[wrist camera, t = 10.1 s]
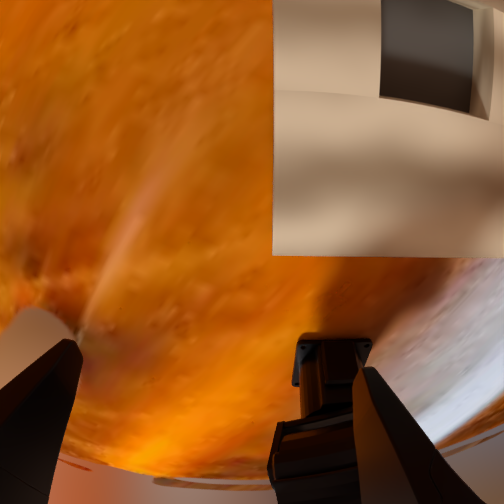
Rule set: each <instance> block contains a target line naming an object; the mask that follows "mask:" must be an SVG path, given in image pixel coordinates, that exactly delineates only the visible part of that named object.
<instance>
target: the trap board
mask: <svg viewBox="0 0 504 504" xmlns="http://www.w3.org/2000/svg"><path fill="white" fill-rule="evenodd" d="M273 69H274V145H273V226H272V255H280V256H352V257H435V258H504V0H273Z"/></svg>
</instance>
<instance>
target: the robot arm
mask: <svg viewBox="0 0 504 504" xmlns="http://www.w3.org/2000/svg"><path fill="white" fill-rule="evenodd" d="M371 348H372V341H371V339H342V340H301V341H299V342H297V345H296V353H295V361H294V368H293V375H292V386H294V387H300V407H301V419H297V420H292V421H287V422H285V421H282V422H278V423H277V427H276V431H275V434H274V438H273V443H272V447H271V452H270V456H269V460H268V465H267V471H268V476H269V479H270V483H271V486H272V488H273V489H274V491H275V492H276V496H277V501H278V504H486V503H485V502H484V501H482V500H481V499H480V498H479V497H478V496H477V495H476V494H475V493H474V492H473V491H472V489H471V488H470V487H468V485H467V484H466V483H465V482H464V481H463V480H462V479H461V478H460V477H459V476H458V474H457V473H456V472H455V471H454V470H453V469H452V468H451V467H450V465H449V464H448V463H447V461H446V460H445V459H444V458H443V456H442V455H441V454H440V452H439V451H438V450H437V449H435V446H434V444H433V443H432V442H431V440H430V439H429V438H428V436H427V435H426V434H425V432H424V431H423V430H422V429H421V427H420V426H419V425H418V423H417V422H416V421H415V419H414V418H413V417H412V415H411V414H410V413H409V411H408V410H407V409H406V407H405V406H404V405H403V404H402V402H401V401H400V400H399V398H398V397H397V396H396V394H395V393H394V392H393V391H392V389H391V388H390V387H389V385H388V384H387V383H386V382H385V380H384V379H383V378H382V376H381V375H380V374H379V373H378V371H377V370H376V369H375V368H374V367H364V366H365V364H366V361H367V358H368V356H369V353H370V351H371ZM82 365H83V356H82V353H81V351H80V349H79V347H78V345H77V343H76V342H75V341H74V340H70V339H62V340H61V341H60V342H59V343H57V344H56V345H55V346H53V347H52V348H51V349H50V350H48V351H47V352H46V353H45V354H43V355H42V356H41V357H40V358H38V359H37V360H36V361H35V362H33V363H32V364H31V365H30V366H28V367H27V368H26V369H25V370H24V371H22V372H21V373H20V374H19V375H17V376H16V377H15V378H14V379H12V381H10V382H9V383H8V384H6V385H5V386H4V387H3V388H2V389H1V390H0V504H48V500H49V494H50V489H51V485H52V480H53V476H54V472H55V468H56V464H57V460H58V456H59V452H60V448H61V444H62V441H63V437H64V434H65V430H66V427H67V423H68V420H69V417H70V413H71V410H72V407H73V404H74V400H75V396H76V391H77V387H78V382H79V377H80V373H81V369H82Z"/></svg>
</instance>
